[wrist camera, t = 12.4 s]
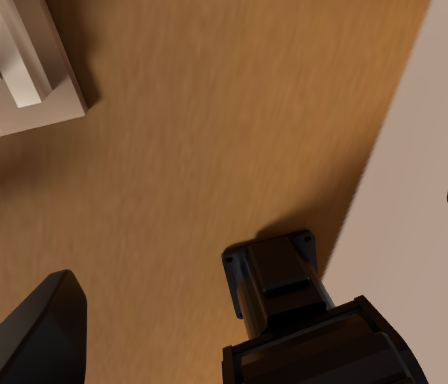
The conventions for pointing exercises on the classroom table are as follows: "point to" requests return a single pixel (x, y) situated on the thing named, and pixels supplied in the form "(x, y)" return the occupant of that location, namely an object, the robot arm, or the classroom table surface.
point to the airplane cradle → (34, 70)
